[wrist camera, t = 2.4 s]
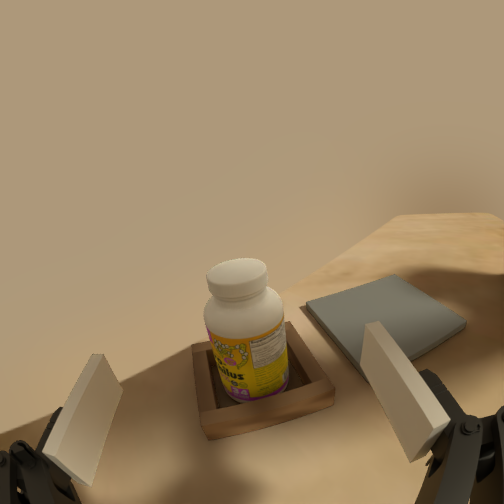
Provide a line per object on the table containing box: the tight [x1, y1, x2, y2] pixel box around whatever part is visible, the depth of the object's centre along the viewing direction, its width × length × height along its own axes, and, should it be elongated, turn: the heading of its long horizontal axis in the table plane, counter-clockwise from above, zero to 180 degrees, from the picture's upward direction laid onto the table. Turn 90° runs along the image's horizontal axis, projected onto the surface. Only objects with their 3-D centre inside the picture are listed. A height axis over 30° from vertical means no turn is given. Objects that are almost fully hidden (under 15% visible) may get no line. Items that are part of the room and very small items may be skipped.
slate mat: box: [306, 274, 467, 383], centre depth 31 cm, size 16×16×1 cm
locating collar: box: [192, 321, 335, 440], centre depth 25 cm, size 12×12×2 cm
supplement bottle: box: [204, 258, 289, 403], centre depth 23 cm, size 7×7×13 cm
